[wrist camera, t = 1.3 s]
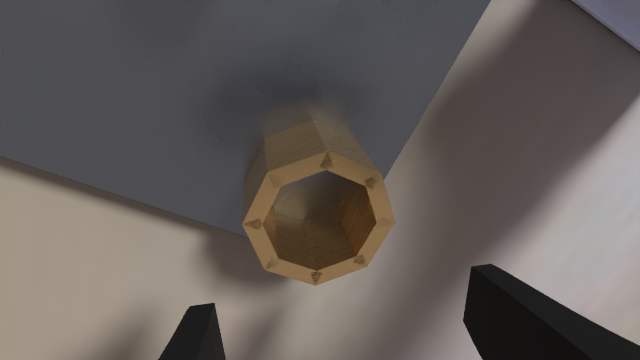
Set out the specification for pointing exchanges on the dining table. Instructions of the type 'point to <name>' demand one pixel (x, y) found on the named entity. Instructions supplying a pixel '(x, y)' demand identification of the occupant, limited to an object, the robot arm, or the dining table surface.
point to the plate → (216, 90)
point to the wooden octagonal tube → (322, 232)
